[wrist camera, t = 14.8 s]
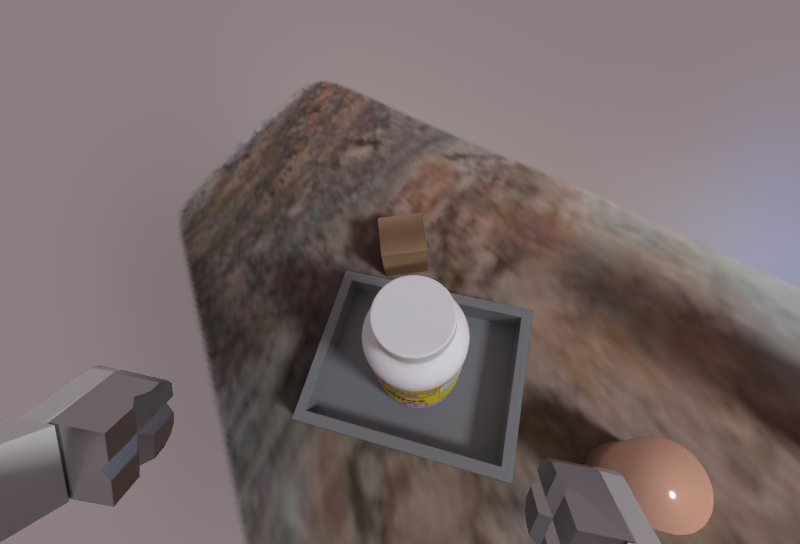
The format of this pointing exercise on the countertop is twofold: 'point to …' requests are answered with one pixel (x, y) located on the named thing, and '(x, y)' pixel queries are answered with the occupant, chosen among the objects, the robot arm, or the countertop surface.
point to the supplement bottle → (415, 340)
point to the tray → (435, 425)
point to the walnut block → (403, 244)
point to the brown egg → (660, 481)
